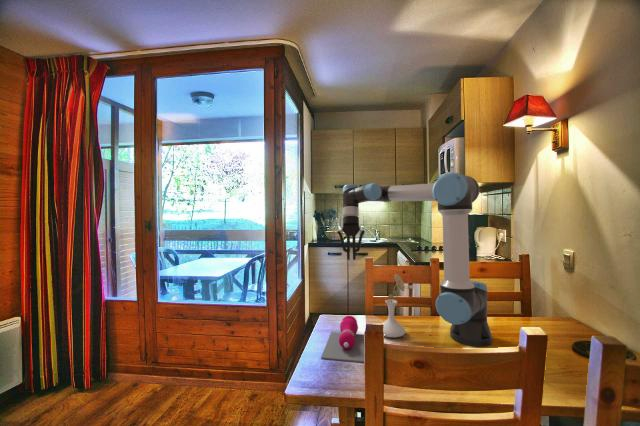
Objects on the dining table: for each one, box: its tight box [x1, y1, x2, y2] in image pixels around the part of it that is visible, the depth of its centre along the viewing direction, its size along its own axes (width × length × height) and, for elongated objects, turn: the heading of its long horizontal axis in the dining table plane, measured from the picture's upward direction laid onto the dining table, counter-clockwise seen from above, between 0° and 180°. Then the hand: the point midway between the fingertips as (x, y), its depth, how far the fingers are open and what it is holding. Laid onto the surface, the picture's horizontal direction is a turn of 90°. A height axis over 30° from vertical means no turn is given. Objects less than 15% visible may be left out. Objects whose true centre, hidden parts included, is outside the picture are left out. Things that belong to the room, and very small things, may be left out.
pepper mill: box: [339, 315, 359, 349], centre depth 117 cm, size 7×7×20 cm
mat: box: [320, 331, 365, 364], centre depth 114 cm, size 22×16×1 cm
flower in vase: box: [381, 273, 407, 338], centre depth 126 cm, size 13×11×25 cm
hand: (351, 267), depth 139 cm, fingers closed
